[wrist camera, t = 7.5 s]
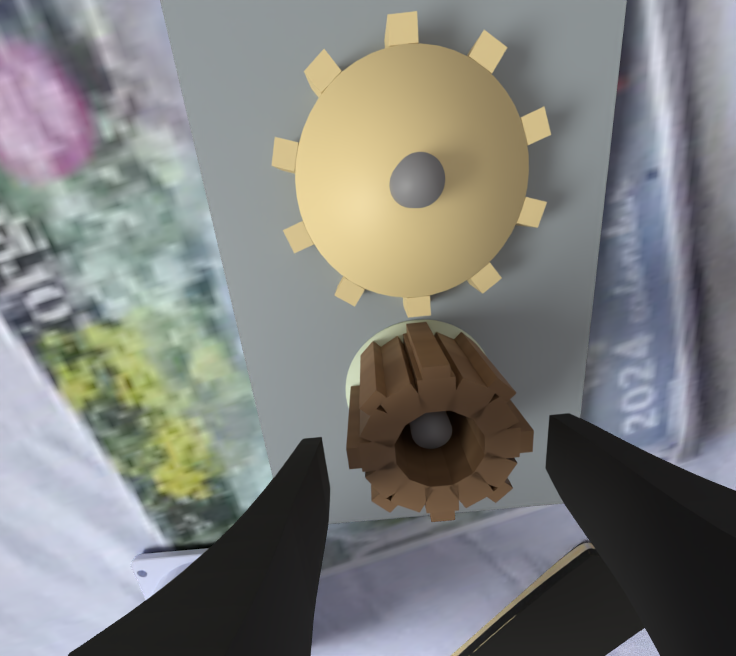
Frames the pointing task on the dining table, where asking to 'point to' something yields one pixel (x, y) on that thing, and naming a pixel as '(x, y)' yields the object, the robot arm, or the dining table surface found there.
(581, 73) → the gear board
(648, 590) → the robot arm
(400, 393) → the walnut gear
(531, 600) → the smartphone
